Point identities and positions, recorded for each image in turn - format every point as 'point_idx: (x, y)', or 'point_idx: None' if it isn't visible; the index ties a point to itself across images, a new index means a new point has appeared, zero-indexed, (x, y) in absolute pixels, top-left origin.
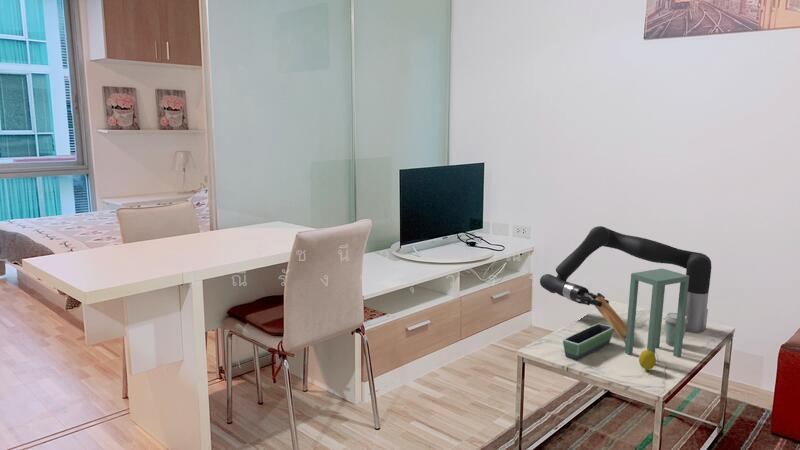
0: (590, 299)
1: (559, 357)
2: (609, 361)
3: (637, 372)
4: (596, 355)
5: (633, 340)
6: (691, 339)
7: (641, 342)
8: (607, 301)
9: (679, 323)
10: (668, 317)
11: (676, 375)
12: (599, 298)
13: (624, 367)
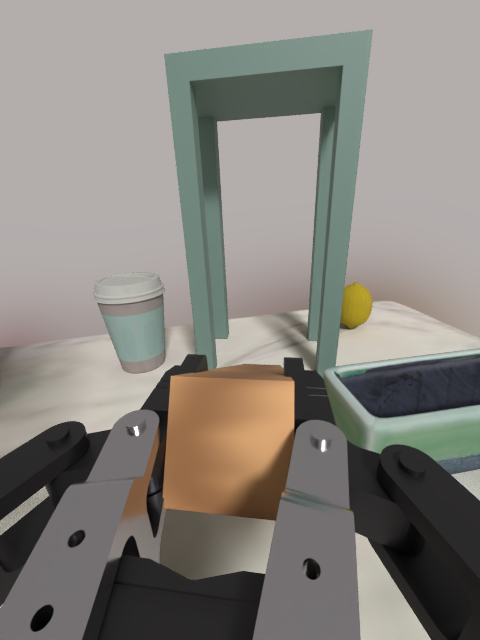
0: (346, 491)
1: None
2: None
3: (377, 329)
4: None
5: (318, 329)
6: (71, 360)
7: None
8: (205, 357)
9: (223, 253)
10: (153, 283)
11: (308, 312)
12: (247, 377)
13: (395, 343)
